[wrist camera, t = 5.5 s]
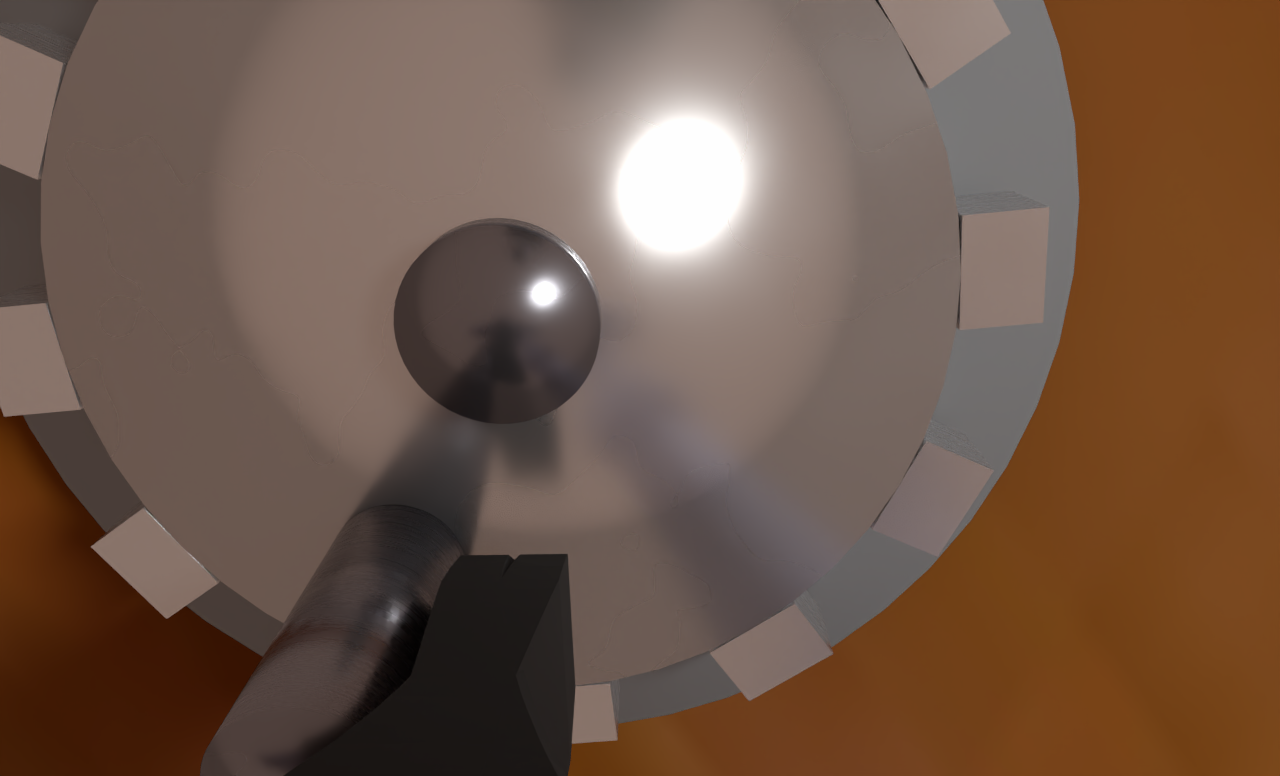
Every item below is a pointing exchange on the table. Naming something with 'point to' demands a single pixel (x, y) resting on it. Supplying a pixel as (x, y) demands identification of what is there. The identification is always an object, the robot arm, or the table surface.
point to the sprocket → (506, 315)
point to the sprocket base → (969, 402)
